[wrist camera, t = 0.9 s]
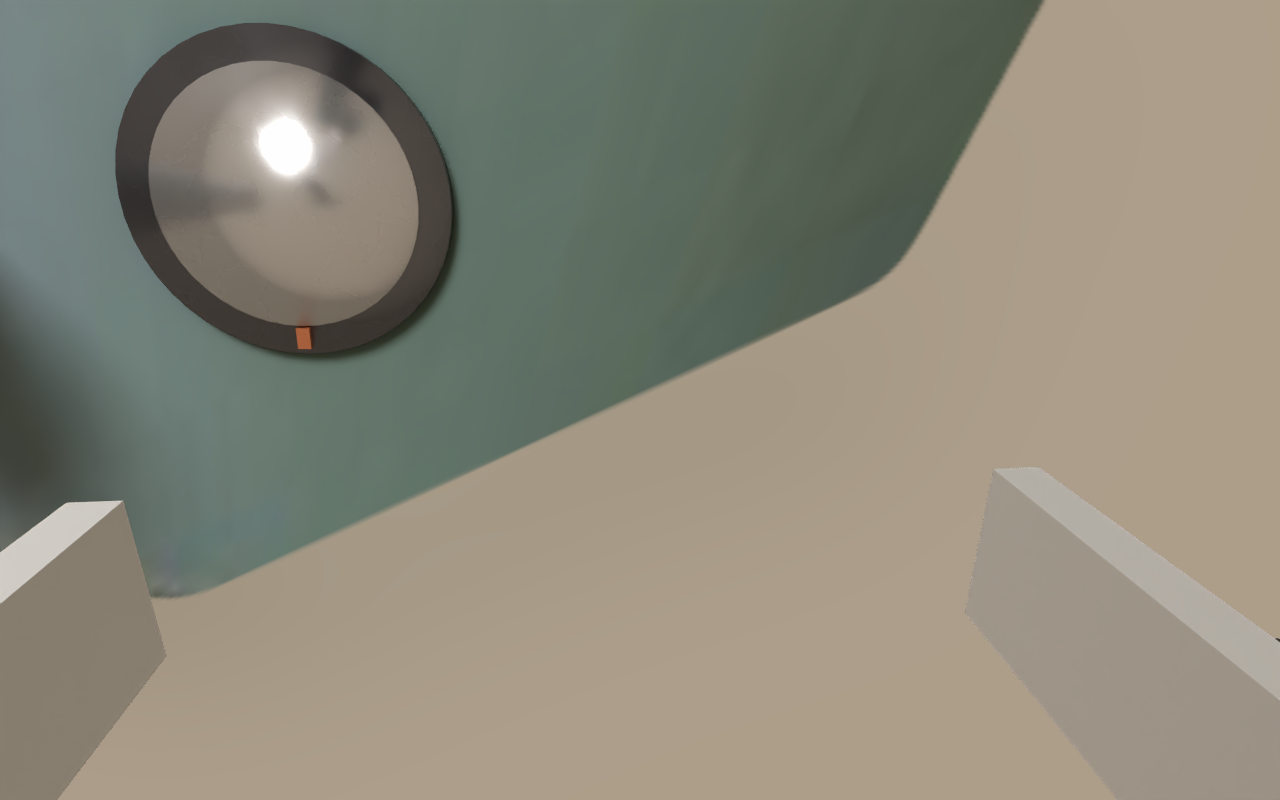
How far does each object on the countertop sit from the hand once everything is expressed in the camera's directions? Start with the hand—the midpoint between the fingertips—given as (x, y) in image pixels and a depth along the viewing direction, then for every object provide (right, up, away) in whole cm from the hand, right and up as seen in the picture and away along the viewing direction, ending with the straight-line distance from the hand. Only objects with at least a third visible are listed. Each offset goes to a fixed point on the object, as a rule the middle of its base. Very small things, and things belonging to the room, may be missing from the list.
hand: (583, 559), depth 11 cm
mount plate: (-15, +11, +21) cm, 28 cm away
